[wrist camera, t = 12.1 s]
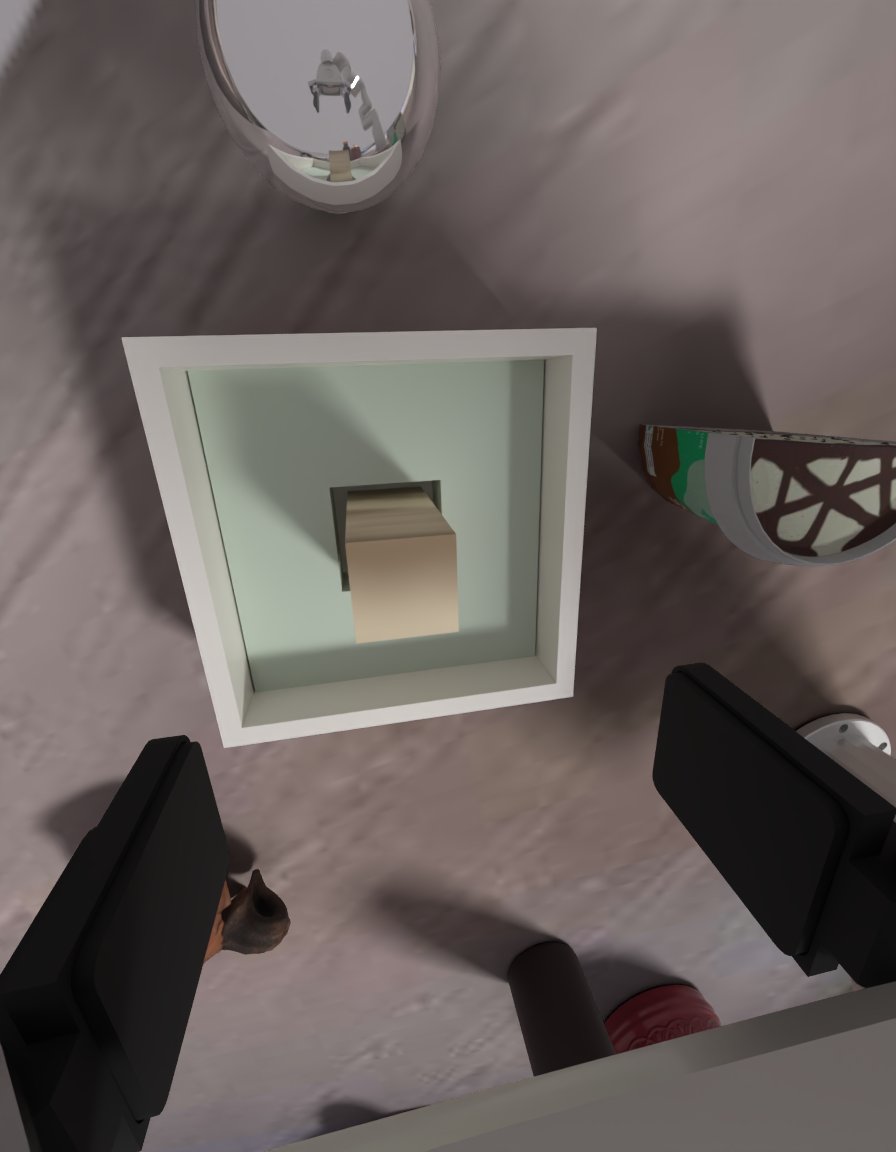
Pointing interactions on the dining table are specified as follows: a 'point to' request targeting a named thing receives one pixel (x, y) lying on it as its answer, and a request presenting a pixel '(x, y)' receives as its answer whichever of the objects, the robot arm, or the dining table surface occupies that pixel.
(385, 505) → the maple peg
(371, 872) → the dining table surface
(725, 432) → the food container
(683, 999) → the canister
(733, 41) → the dining table surface
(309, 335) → the open box
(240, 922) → the brown looped sculpture
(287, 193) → the light bulb
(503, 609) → the bore plate
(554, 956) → the bottle
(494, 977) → the dining table surface
